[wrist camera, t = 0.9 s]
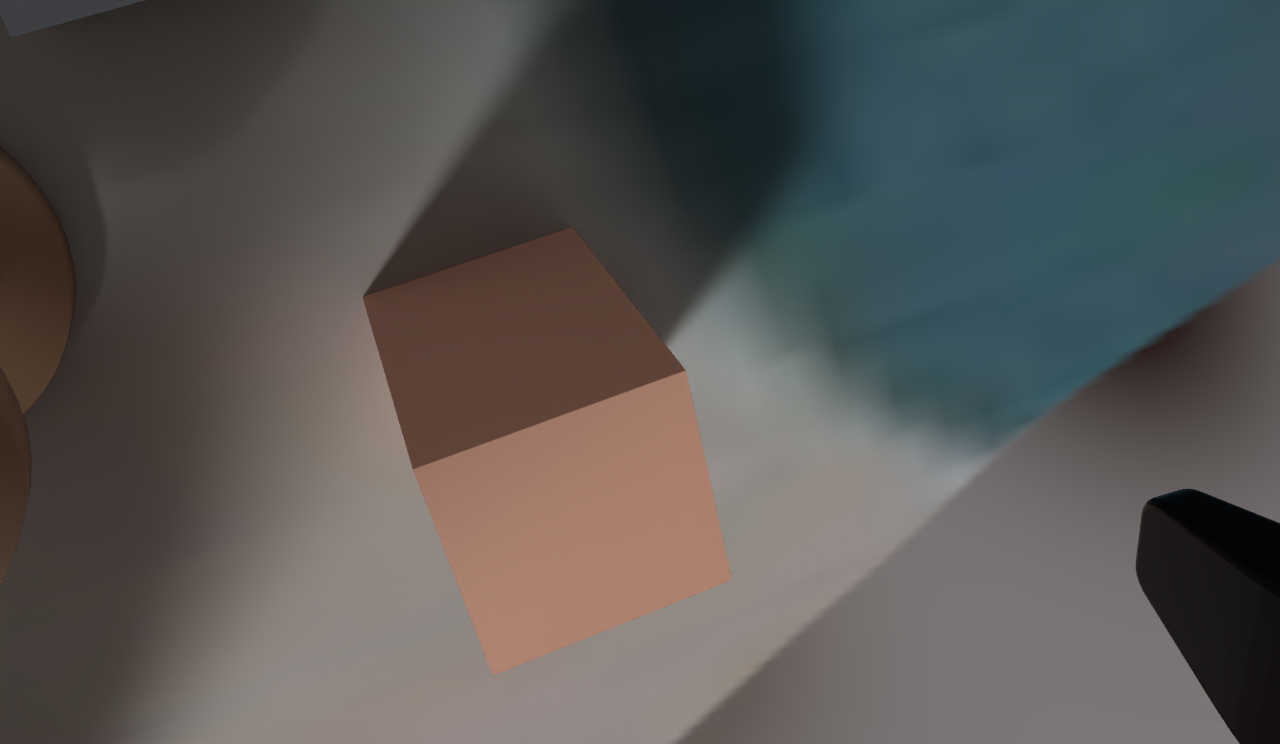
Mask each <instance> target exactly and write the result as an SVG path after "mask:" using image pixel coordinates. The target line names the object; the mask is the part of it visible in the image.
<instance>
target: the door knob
mask: <svg viewBox="0 0 1280 744" xmlns="http://www.w3.org/2000/svg"><path fill="white" fill-rule="evenodd" d="M75 285H76V283H75V275H74V266H73V260H72V256H71V252H70V249H69V245H68V241H67V238H66V236H65V233H64V231H63V229H62V226H61V224H60V222H59V219H58V217H57V215H56V214H55V212H54V210H53V209H52V207H51V205H50V204H49V202H48V200H47V199H46V197H45V195H44V194H43V192H42V191H41V190H40V189H39V187H38V186H37V185H36V184H35V182H34V181H33V180H32V179H31V177H30V176H29V175H28V174H27V172H26V171H25V170H24V169H23V168H22V167H21V166H19V165H18V164H17V163H16V162H15V161H14V160H13V159H12V158H11V157H10V156H9V155H8V154H7V153H6V152H5V151H4V150H2V149H1V148H0V584H1V582H2V580H3V579H4V577H5V575H6V573H7V571H8V568H9V566H10V563H11V560H12V558H13V555H14V553H15V550H16V547H17V543H18V539H19V535H20V531H21V527H22V523H23V519H24V515H25V510H26V505H27V500H28V495H29V490H30V485H31V451H30V444H29V437H28V430H27V427H26V423H25V420H24V417H23V414H24V413H25V412H26V411H27V410H28V409H29V408H30V407H31V406H32V405H33V404H34V403H35V401H36V400H37V399H38V398H39V396H40V395H41V394H42V392H43V391H44V390H45V389H46V387H47V386H48V384H49V382H50V380H51V379H52V377H53V375H54V373H55V372H56V370H57V368H58V366H59V363H60V360H61V358H62V355H63V352H64V350H65V347H66V343H67V339H68V334H69V330H70V326H71V321H72V316H73V311H74V306H75Z"/></svg>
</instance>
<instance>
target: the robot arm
mask: <svg viewBox="0 0 1280 744" xmlns="http://www.w3.org/2000/svg"><path fill="white" fill-rule="evenodd" d="M1136 573H1137V577H1138V581H1139V583H1140V586H1141V588H1142V590H1143V592H1144V594H1145V595H1146V597H1147V598H1148V600H1149V602H1150V603H1151V605H1152V606H1153V608H1154V610H1155V611H1156V613H1157V615H1158V616H1159V617H1160V619H1161V621H1162V623H1163V624H1164V626H1165V627H1166V629H1167V631H1168V632H1169V634H1170V636H1171V637H1172V639H1173V640H1174V642H1175V644H1176V645H1177V647H1178V648H1179V650H1180V652H1181V653H1182V655H1183V657H1184V658H1185V660H1186V661H1187V663H1188V665H1189V666H1190V668H1191V669H1192V671H1193V673H1194V674H1195V676H1196V677H1197V679H1198V681H1199V682H1200V684H1201V686H1202V687H1203V689H1204V690H1205V692H1206V694H1207V695H1208V697H1209V698H1210V700H1211V701H1212V703H1213V705H1214V706H1215V708H1216V710H1217V711H1218V713H1219V714H1220V716H1221V717H1222V719H1223V720H1224V722H1225V723H1226V725H1227V726H1228V728H1229V729H1230V731H1231V732H1232V734H1233V735H1234V736H1235V738H1236V739H1237V740H1238V742H1239V743H1240V744H1280V523H1278V522H1276V521H1273V520H1271V519H1268V518H1265V517H1263V516H1260V515H1258V514H1256V513H1253V512H1250V511H1248V510H1245V509H1243V508H1241V507H1238V506H1236V505H1233V504H1230V503H1228V502H1226V501H1223V500H1221V499H1218V498H1216V497H1213V496H1211V495H1208V494H1206V493H1203V492H1200V491H1197V490H1194V489H1182V490H1178V491H1175V492H1171V493H1168V494H1165V495H1161V496H1158V497H1155V498H1152V499H1150V500H1149V501H1148V502H1147V503H1146V504H1145V506H1144V508H1143V511H1142V517H1141V524H1140V532H1139V540H1138V548H1137V556H1136Z"/></svg>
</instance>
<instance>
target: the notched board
mask: <svg viewBox="0 0 1280 744" xmlns="http://www.w3.org/2000/svg"><path fill="white" fill-rule="evenodd" d="M141 1H145V0H0V17H1V19H2V21H3V23H4V25H5V27H6V29H7V31H8V33H9V35H10V37H11V38H12V37H16V36H19V35H23V34H26V33H30V32H34V31H37V30H41V29H44V28H48V27H52V26H55V25H59V24H62V23H66V22H70V21H73V20H77V19H80V18H84V17H88V16H91V15H95V14H98V13H102V12H106V11H109V10H113V9H116V8H120V7H124V6H127V5H131V4H134V3H138V2H141Z"/></svg>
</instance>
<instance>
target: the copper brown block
mask: <svg viewBox="0 0 1280 744" xmlns="http://www.w3.org/2000/svg"><path fill="white" fill-rule="evenodd" d="M363 300H364V303H365V307H366V310H367V313H368V317H369V320H370V324H371V327H372V331H373V334H374V337H375V341H376V344H377V348H378V351H379V354H380V358H381V361H382V365H383V368H384V372H385V375H386V378H387V382H388V385H389V389H390V392H391V396H392V399H393V402H394V406H395V409H396V413H397V416H398V420H399V423H400V426H401V430H402V433H403V437H404V440H405V444H406V447H407V450H408V454H409V457H410V461H411V464H412V468H413V471H414V473H415V476H416V478H417V481H418V483H419V486H420V489H421V491H422V494H423V496H424V499H425V501H426V504H427V507H428V509H429V512H430V514H431V517H432V519H433V522H434V525H435V527H436V530H437V532H438V535H439V537H440V540H441V543H442V545H443V548H444V550H445V553H446V555H447V558H448V561H449V563H450V566H451V568H452V571H453V573H454V576H455V579H456V581H457V584H458V586H459V589H460V591H461V594H462V597H463V599H464V602H465V604H466V607H467V609H468V612H469V615H470V617H471V620H472V622H473V625H474V627H475V630H476V633H477V635H478V638H479V640H480V643H481V645H482V648H483V651H484V653H485V656H486V658H487V661H488V663H489V666H490V669H491V671H492V674H493V675H495V674H497V673H500V672H502V671H505V670H507V669H510V668H512V667H515V666H517V665H520V664H522V663H525V662H527V661H530V660H532V659H535V658H537V657H540V656H542V655H545V654H547V653H550V652H552V651H555V650H557V649H560V648H562V647H565V646H567V645H570V644H572V643H575V642H577V641H580V640H582V639H585V638H587V637H590V636H592V635H595V634H597V633H600V632H602V631H605V630H607V629H610V628H612V627H615V626H617V625H620V624H622V623H625V622H627V621H630V620H632V619H635V618H637V617H640V616H642V615H645V614H647V613H650V612H652V611H655V610H657V609H660V608H662V607H665V606H667V605H670V604H672V603H675V602H677V601H680V600H682V599H685V598H687V597H690V596H692V595H695V594H697V593H700V592H702V591H705V590H707V589H710V588H712V587H715V586H717V585H720V584H722V583H725V582H727V581H730V580H732V579H731V574H730V570H729V565H728V560H727V556H726V551H725V547H724V542H723V538H722V533H721V529H720V524H719V520H718V515H717V510H716V506H715V501H714V497H713V492H712V488H711V483H710V479H709V474H708V470H707V465H706V461H705V456H704V451H703V447H702V442H701V438H700V433H699V429H698V424H697V420H696V415H695V411H694V406H693V401H692V397H691V392H690V388H689V383H688V379H687V374H686V370H685V369H684V368H683V366H682V365H681V364H680V363H679V361H678V360H677V359H676V358H675V356H674V355H673V354H672V352H671V351H670V350H669V349H668V347H667V346H666V345H665V344H664V342H663V341H662V340H661V338H660V337H659V336H658V335H657V333H656V332H655V331H654V330H653V328H652V327H651V326H650V325H649V323H648V322H647V321H646V319H645V318H644V317H643V316H642V314H641V313H640V312H639V311H638V309H637V308H636V307H635V306H634V304H633V303H632V302H631V300H630V299H629V298H628V297H627V295H626V294H625V293H624V292H623V290H622V289H621V288H620V287H619V285H618V284H617V283H616V281H615V280H614V279H613V278H612V276H611V275H610V274H609V273H608V271H607V270H606V269H605V268H604V266H603V265H602V264H601V262H600V261H599V260H598V259H597V257H596V256H595V255H594V254H593V252H592V251H591V250H590V249H589V247H588V246H587V245H586V243H585V242H584V241H583V240H582V238H581V237H580V236H579V235H578V233H577V232H576V231H575V230H574V228H573V227H571V228H568V229H565V230H562V231H559V232H556V233H553V234H550V235H547V236H544V237H541V238H538V239H535V240H532V241H529V242H526V243H523V244H520V245H517V246H514V247H511V248H508V249H505V250H502V251H499V252H496V253H493V254H490V255H487V256H484V257H481V258H478V259H475V260H472V261H469V262H466V263H463V264H460V265H457V266H454V267H451V268H448V269H445V270H442V271H439V272H436V273H433V274H430V275H427V276H424V277H421V278H418V279H415V280H412V281H409V282H406V283H403V284H400V285H397V286H394V287H391V288H388V289H385V290H382V291H379V292H376V293H373V294H370V295H367V296H364V297H363Z"/></svg>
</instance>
